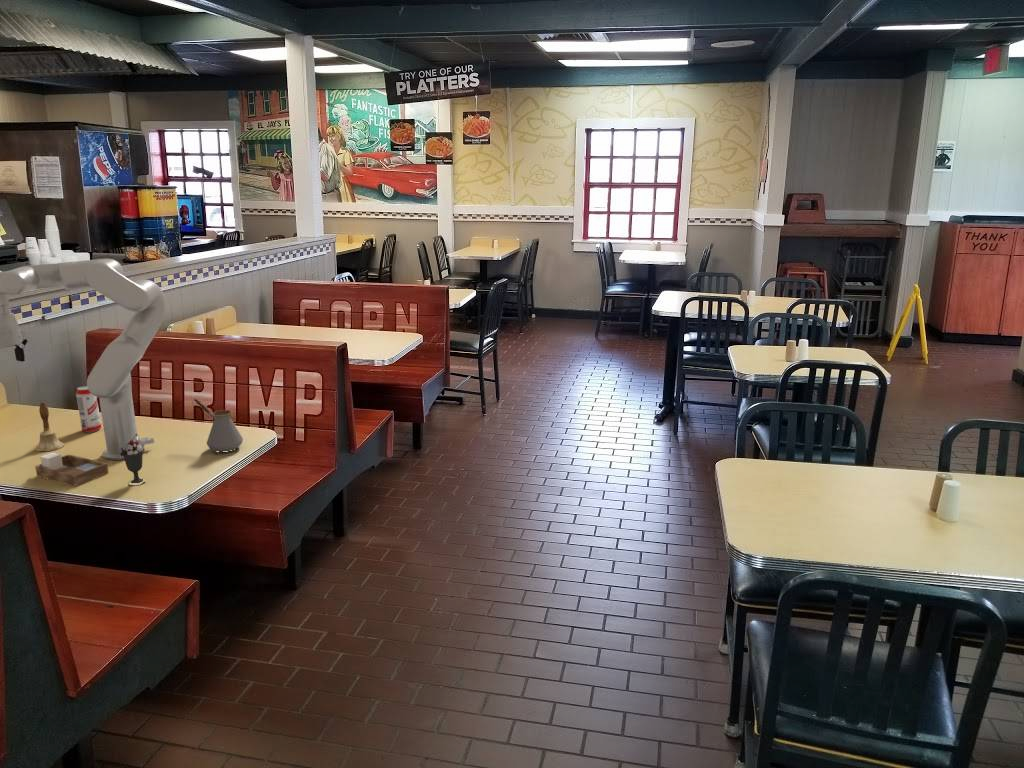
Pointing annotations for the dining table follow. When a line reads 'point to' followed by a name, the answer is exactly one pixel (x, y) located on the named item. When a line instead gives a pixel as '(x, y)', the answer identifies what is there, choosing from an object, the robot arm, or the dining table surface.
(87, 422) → the beer can
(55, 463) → the block
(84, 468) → the bay
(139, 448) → the sundae
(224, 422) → the coffee pot
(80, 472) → the tray
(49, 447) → the hand bell
